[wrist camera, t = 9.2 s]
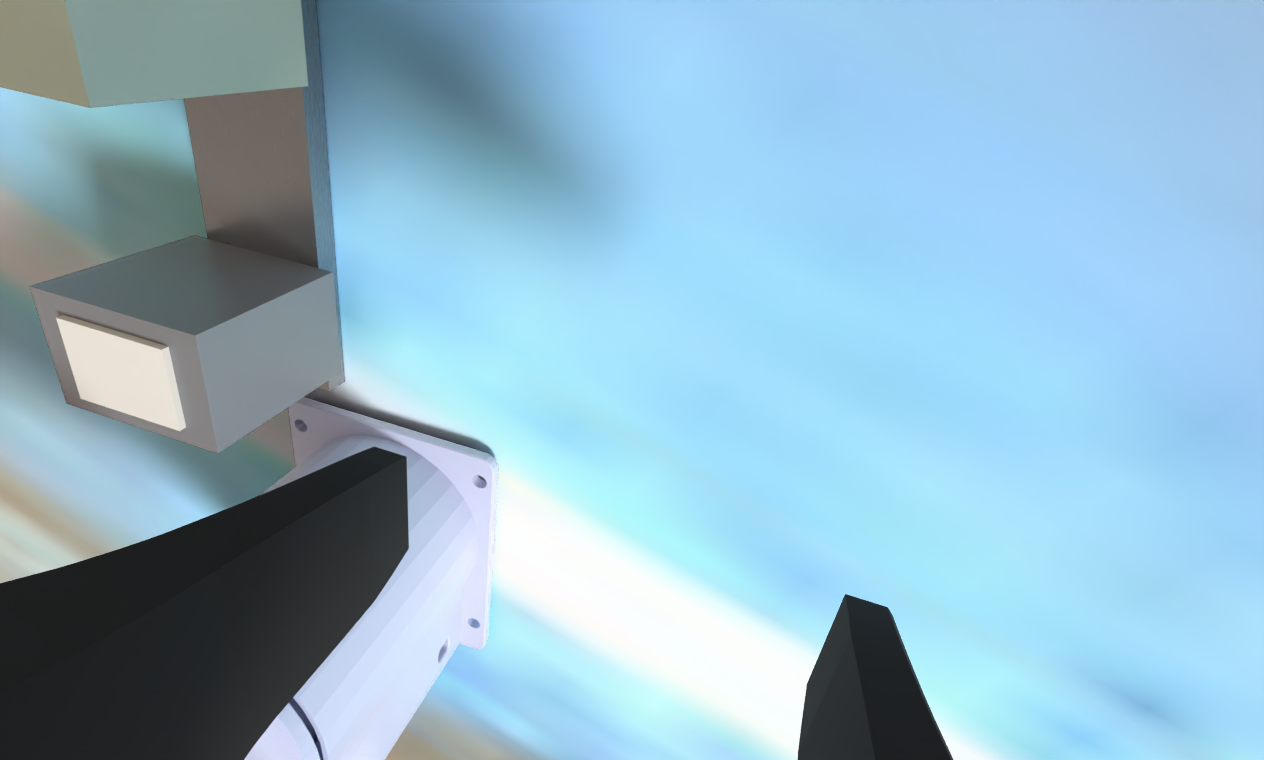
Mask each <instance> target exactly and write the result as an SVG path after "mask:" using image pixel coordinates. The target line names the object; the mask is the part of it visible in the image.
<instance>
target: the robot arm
mask: <svg viewBox="0 0 1264 760" xmlns="http://www.w3.org/2000/svg"><path fill="white" fill-rule="evenodd" d="M288 410H289V418H290V426H291V434H292V442H293V450H294V458H295V466H296V467H295V468H293V469H292V470H291V471H290V472H288V473H287V474H286V475H284V476H283V477H282V478H281V479H279V480H278V481H277V482H275V483H274V484H273V485H272V486H270V487H269V488H268V489H267V490H265V491H264V492H263V493H261V494H260V495H259V496H257V497H255V498H253V499H250V500H248V501H246V502H243V503H241V504H239V505H236V506H234V507H231V508H228V509H226V510H223V511H221V512H218V513H216V514H213V515H211V516H208V517H205V518H203V519H200V520H198V521H195V522H193V523H190V524H188V525H185V526H182V527H180V528H177V529H175V530H172V531H170V532H167V533H164V534H162V535H159V536H156V537H153V538H150V539H148V540H145V541H142V542H139V543H136V544H133V545H130V546H127V547H124V548H121V549H118V550H115V551H112V552H109V553H106V554H102V555H99V556H96V557H93V558H90V559H87V560H84V561H80V562H77V563H74V564H71V565H67V566H64V567H60V568H57V569H53V570H49V571H46V572H42V573H38V574H34V575H31V576H27V577H23V578H19V579H15V580H12V581H8V582H4V583H0V760H385V758H386V757H387V755H388V754H389V752H390V751H391V749H392V748H393V746H394V744H395V743H396V741H397V740H398V738H399V737H400V735H401V734H402V732H403V730H404V729H405V727H406V726H407V724H408V723H409V721H410V719H411V718H412V716H413V715H414V713H415V712H416V710H417V709H418V707H419V705H420V704H421V702H422V701H423V699H424V698H425V696H426V695H427V693H428V691H429V690H430V688H431V687H432V685H433V684H434V682H435V681H436V679H437V677H438V676H439V674H440V673H441V671H442V670H443V668H444V667H445V665H446V663H447V662H448V660H449V659H450V657H451V656H452V654H453V652H454V651H455V649H456V648H457V646H458V645H459V643H460V644H463V645H466V646H469V647H471V648H475V649H480V648H483V647H484V646H485V644H486V642H487V641H488V638H489V622H490V605H491V588H492V571H493V553H494V536H495V519H496V502H497V485H498V463H497V462H496V460H495V459H494V458H493V457H492V456H491V455H490V454H487V453H485V452H482V451H479V450H476V449H472V448H469V447H466V446H462V445H459V444H456V443H453V442H449V441H446V440H443V439H439V438H436V437H433V436H430V435H426V434H423V433H420V432H417V431H413V430H410V429H407V428H403V427H400V426H397V425H394V424H390V423H387V422H384V421H381V420H377V419H374V418H371V417H367V416H364V415H361V414H358V413H354V412H351V411H348V410H344V409H341V408H338V407H335V406H331V405H328V404H325V403H322V402H318V401H315V400H312V399H308V398H305V397H303V398H301V399H300V400H298V401H297V402H295V403H294V404H292V405H291V406H289V408H288ZM303 421H304V422H305V423H304V422H303ZM479 476H481V477H483V478H484V479H485V480H486V482H485V481H483V480H481V479H480V477H479ZM798 760H953V758H952V756H951V754H950V752H949V749H948V747H947V745H946V743H945V741H944V739H943V736H942V734H941V732H940V730H939V728H938V726H937V723H936V721H935V719H934V717H933V714H932V712H931V710H930V708H929V705H928V703H927V701H926V698H925V696H924V694H923V691H922V689H921V686H920V684H919V682H918V679H917V677H916V674H915V672H914V670H913V667H912V665H911V662H910V660H909V657H908V655H907V652H906V650H905V647H904V644H903V642H902V639H901V637H900V634H899V631H898V629H897V626H896V623H895V621H894V618H893V616H892V614H891V612H890V610H889V609H888V607H885V606H881V605H878V604H875V603H872V602H869V601H865V600H862V599H859V598H856V597H853V596H850V595H846V594H845V596H844V598H843V601H842V603H841V605H840V608H839V610H838V612H837V615H836V617H835V620H834V622H833V624H832V627H831V629H830V631H829V634H828V636H827V638H826V641H825V643H824V645H823V648H822V650H821V653H820V655H819V657H818V660H817V662H816V664H815V667H814V669H813V671H812V674H811V676H810V678H809V681H808V683H807V689H806V696H805V703H804V710H803V718H802V725H801V734H800V742H799V750H798Z"/></svg>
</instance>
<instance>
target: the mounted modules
mask: <svg viewBox="0 0 1264 760" xmlns="http://www.w3.org/2000/svg"><path fill="white" fill-rule="evenodd" d="M29 287H30V290H31V293H32V296H33V299H34V302H35V306H36V309H37V312H38V315H39V318H40V321H41V325H42V328H43V331H44V334H45V337H46V340H47V343H48V347H49V350H50V353H51V356H52V359H53V362H54V365H55V369H56V372H57V375H58V378H59V381H60V384H61V387H62V391H63V394H64V397H65V400H66V403H67V404H70V405H73V406H76V407H79V408H82V409H85V410H88V411H91V412H94V413H97V414H100V415H103V416H106V417H109V418H112V419H115V420H118V421H121V422H124V423H127V424H130V425H133V426H136V427H139V428H142V429H145V430H148V431H151V432H154V433H157V434H160V435H163V436H166V437H169V438H172V439H175V440H178V441H181V442H184V443H187V444H190V445H193V446H196V447H199V448H203V449H206V450H209V451H212V452H215V453H218V454H219V453H220V452H222V451H223V450H225V449H226V448H228V447H229V446H231V445H232V444H234V443H235V442H237V441H238V440H240V439H241V438H243V437H244V436H246V435H247V434H249V433H250V432H252V431H253V430H255V429H256V428H258V427H259V426H261V425H262V424H264V423H265V422H267V421H268V420H270V419H271V418H273V417H274V416H276V415H277V414H279V413H280V412H282V411H283V410H285V409H286V408H288V407H289V406H291V405H292V404H294V403H295V402H297V401H298V400H300V399H301V398H303V397H304V396H306V395H307V394H309V393H310V392H312V391H313V390H315V389H316V388H318V387H319V386H321V385H322V384H324V383H325V382H327V381H328V380H330V379H331V378H333V377H334V376H336V375H337V374H339V373H340V372H341V369H340V356H339V343H338V331H337V318H336V305H335V293H334V280H333V272H331V271H327V270H323V269H320V268H316V267H312V266H308V265H304V264H301V263H297V262H293V261H289V260H286V259H282V258H278V257H274V256H271V255H267V254H263V253H259V252H255V251H252V250H248V249H244V248H240V247H237V246H233V245H229V244H225V243H222V242H218V241H214V240H210V239H206V238H203V237H199V236H195V235H194V236H191V237H188V238H185V239H181V240H178V241H175V242H172V243H168V244H165V245H162V246H159V247H155V248H152V249H149V250H146V251H142V252H139V253H136V254H133V255H130V256H126V257H123V258H120V259H117V260H113V261H110V262H107V263H104V264H100V265H97V266H94V267H91V268H88V269H84V270H81V271H78V272H75V273H71V274H68V275H65V276H62V277H58V278H55V279H52V280H49V281H45V282H42V283H39V284H36V285H33V286H29Z"/></svg>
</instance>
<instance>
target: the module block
mask: <svg viewBox="0 0 1264 760" xmlns="http://www.w3.org/2000/svg"><path fill="white" fill-rule="evenodd" d="M304 86H308V77H307V66H306V54H305V43H304V31H303V20H302V9H301V0H0V87H2V88H6V89H11V90H15V91H19V92H24V93H28V94H32V95H37V96H41V97H45V98H50V99H54V100H58V101H63V102H67V103H71V104H76V105H80V106H85V107H89V108H93V107H103V106H113V105H123V104H133V103H143V102H153V101H163V100H173V99H183V98H193V97H203V96H213V95H224V94H234V93H244V92H254V91H264V90H274V89H284V88H294V87H304Z"/></svg>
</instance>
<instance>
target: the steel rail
mask: <svg viewBox="0 0 1264 760" xmlns="http://www.w3.org/2000/svg"><path fill="white" fill-rule="evenodd" d="M301 9H302V20H303V31H304V43H305V54H306V66H307V77H308V86H304V87H294V88H284V89H274V90H264V91H254V92H244V93H234V94H224V95H213V96H203V97H193V98H184V102H185V108H186V114H187V120H188V126H189V131H190V137H191V143H192V149H193V155H194V161H195V166H196V172H197V178H198V184H199V190H200V196H201V201H202V207H203V213H204V219H205V225H206V231H207V236H208V239H210V240H214V241H218V242H222V243H225V244H229V245H233V246H237V247H240V248H244V249H248V250H252V251H255V252H259V253H263V254H267V255H271V256H274V257H278V258H282V259H286V260H289V261H293V262H297V263H301V264H304V265H308V266H312V267H316V268H320V269H323V270H327V271H331V272H333V280H334V293H335V305H336V318H337V331H338V343H339V356H340V369H341V372H340V373H339V374H337V375H336V376H334V377H333V378H331V379H330V380H328V381H327V382H325V383H324V384H322V385H321V386H319V387H318V388H319V389H323V390H326V391H329V392H330V391H331V390H333V389H334V388H336V387H337V386H338V385H340V384H341V383H343V382H344V381H345V376H344V363H343V350H342V336H341V323H340V310H339V297H338V284H337V271H336V257H335V244H334V231H333V218H332V205H331V192H330V178H329V165H328V152H327V139H326V126H325V113H324V100H323V86H322V73H321V60H320V47H319V34H318V21H317V7H316V0H301Z"/></svg>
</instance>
